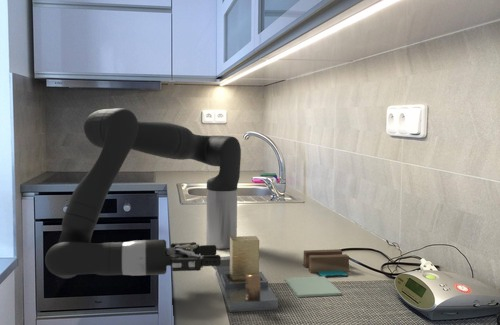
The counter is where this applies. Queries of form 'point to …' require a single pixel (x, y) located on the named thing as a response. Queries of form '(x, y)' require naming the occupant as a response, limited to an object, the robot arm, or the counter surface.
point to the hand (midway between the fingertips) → (218, 254)
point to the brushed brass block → (243, 257)
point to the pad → (312, 286)
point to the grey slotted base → (246, 292)
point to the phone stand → (326, 260)
